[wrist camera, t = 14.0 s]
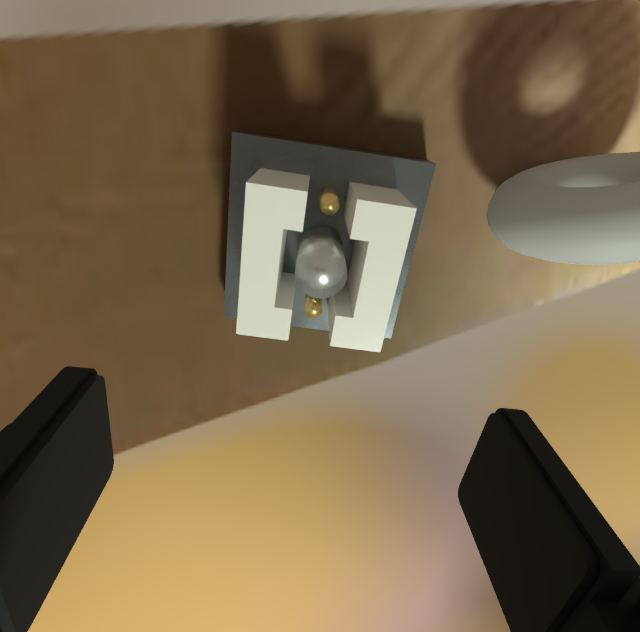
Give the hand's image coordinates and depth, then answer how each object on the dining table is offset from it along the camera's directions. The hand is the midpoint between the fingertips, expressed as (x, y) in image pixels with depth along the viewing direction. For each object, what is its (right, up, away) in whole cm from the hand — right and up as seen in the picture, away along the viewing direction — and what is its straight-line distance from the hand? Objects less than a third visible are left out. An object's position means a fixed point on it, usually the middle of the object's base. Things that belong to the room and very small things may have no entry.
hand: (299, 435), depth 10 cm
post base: (+1, +8, +16) cm, 18 cm away
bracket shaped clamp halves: (0, +7, +14) cm, 16 cm away
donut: (+14, +11, +15) cm, 23 cm away
